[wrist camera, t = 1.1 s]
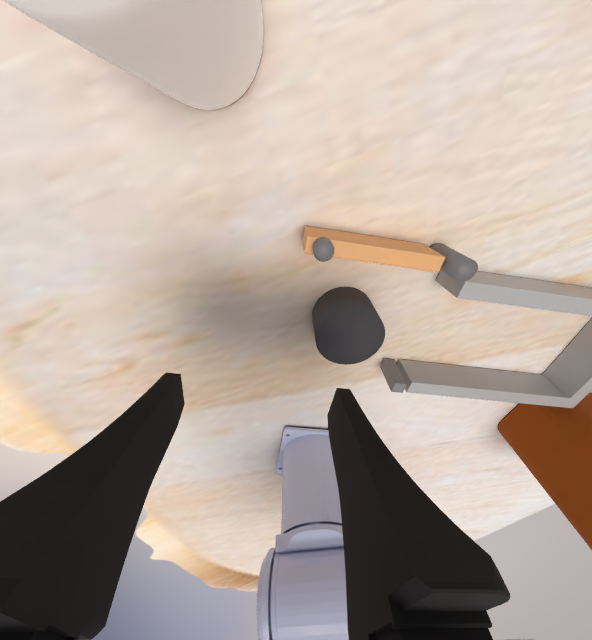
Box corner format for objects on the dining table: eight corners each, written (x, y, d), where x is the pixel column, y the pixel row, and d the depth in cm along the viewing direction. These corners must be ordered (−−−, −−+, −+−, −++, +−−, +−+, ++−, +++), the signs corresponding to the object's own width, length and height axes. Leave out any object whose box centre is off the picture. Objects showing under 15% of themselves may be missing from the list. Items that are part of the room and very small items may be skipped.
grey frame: (545, 384, 26) (574, 410, 23) (379, 366, 24) (390, 392, 22) (628, 293, 21) (679, 312, 18) (423, 263, 19) (445, 279, 16)
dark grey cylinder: (362, 340, 23) (372, 367, 20) (307, 334, 22) (310, 360, 19) (379, 290, 20) (395, 312, 17) (318, 282, 20) (323, 303, 17)
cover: (302, 243, 18) (304, 260, 15) (305, 222, 17) (308, 236, 14) (441, 263, 19) (472, 284, 16) (450, 245, 18) (484, 262, 15)
